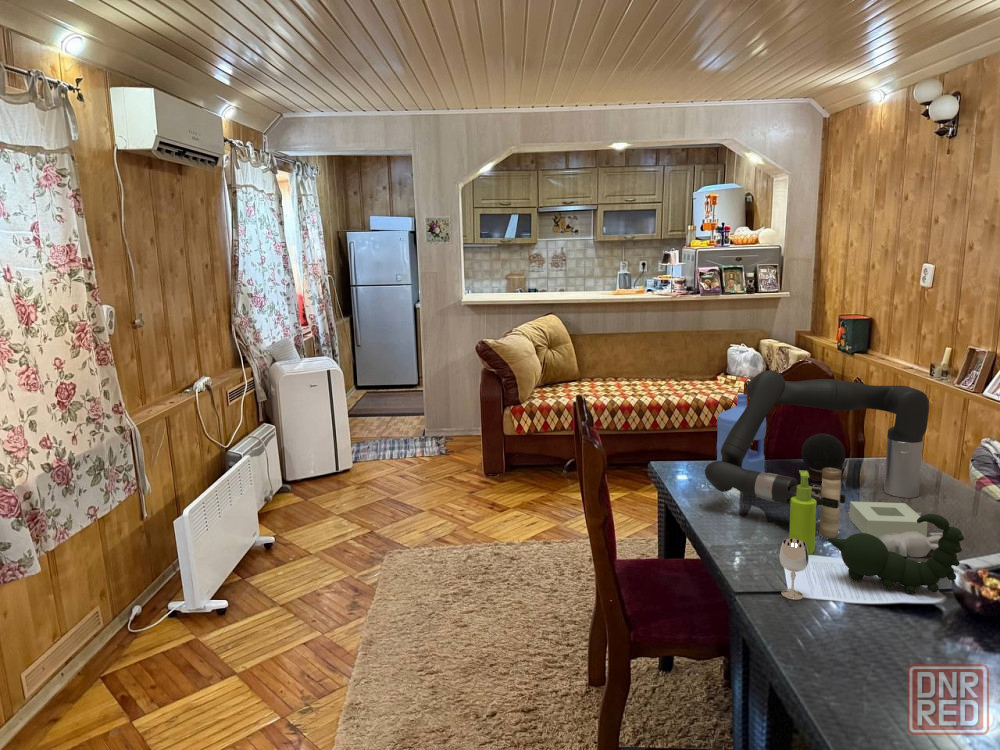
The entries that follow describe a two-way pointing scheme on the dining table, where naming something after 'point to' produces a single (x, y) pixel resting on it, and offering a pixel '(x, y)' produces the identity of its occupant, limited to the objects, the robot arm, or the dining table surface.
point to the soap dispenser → (803, 514)
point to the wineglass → (793, 563)
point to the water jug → (725, 424)
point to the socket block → (885, 518)
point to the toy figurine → (901, 558)
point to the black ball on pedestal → (822, 454)
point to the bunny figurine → (910, 543)
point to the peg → (831, 490)
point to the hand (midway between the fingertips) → (841, 501)
